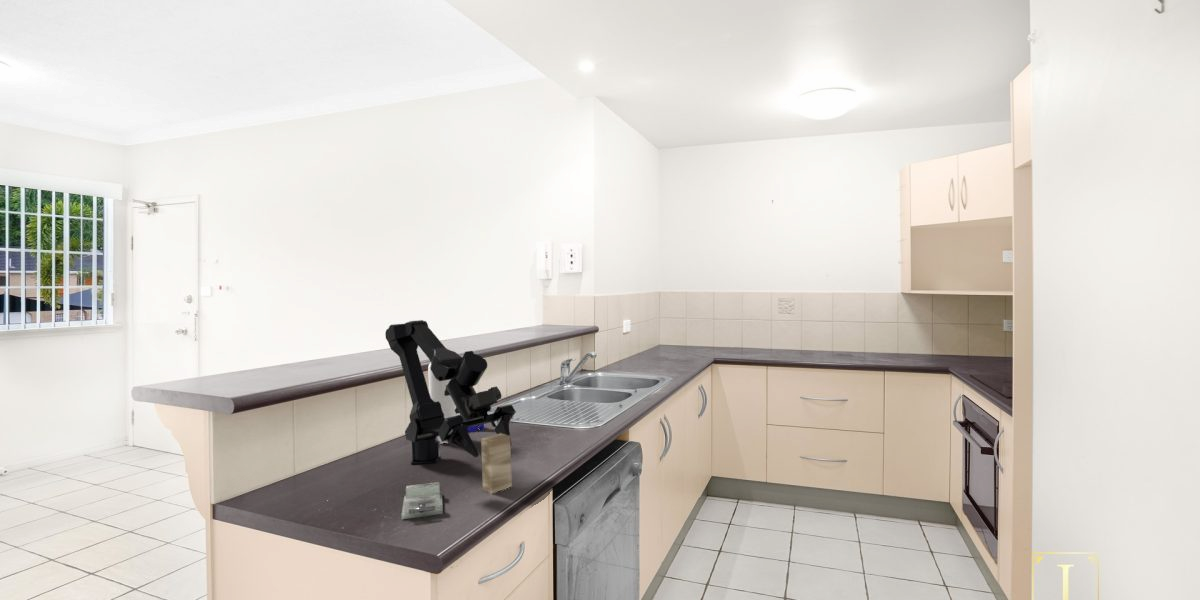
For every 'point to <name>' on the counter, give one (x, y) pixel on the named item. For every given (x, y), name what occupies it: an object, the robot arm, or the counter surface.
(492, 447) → the beech block
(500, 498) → the counter surface
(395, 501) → the counter surface
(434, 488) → the frosted green stand
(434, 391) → the bottle
